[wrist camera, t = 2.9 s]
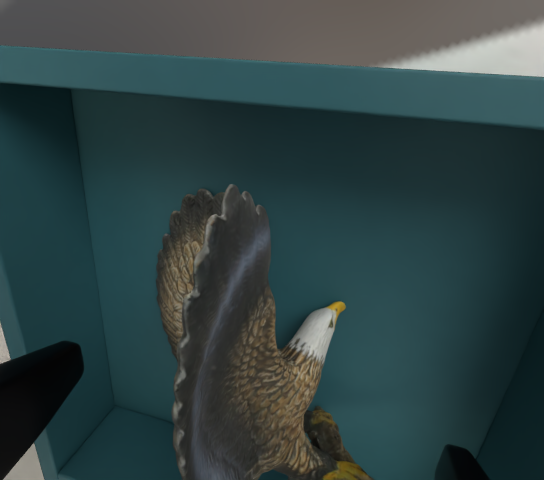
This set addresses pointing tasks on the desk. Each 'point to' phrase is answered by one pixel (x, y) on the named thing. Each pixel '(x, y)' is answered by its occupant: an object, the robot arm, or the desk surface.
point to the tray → (283, 245)
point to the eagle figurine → (241, 352)
